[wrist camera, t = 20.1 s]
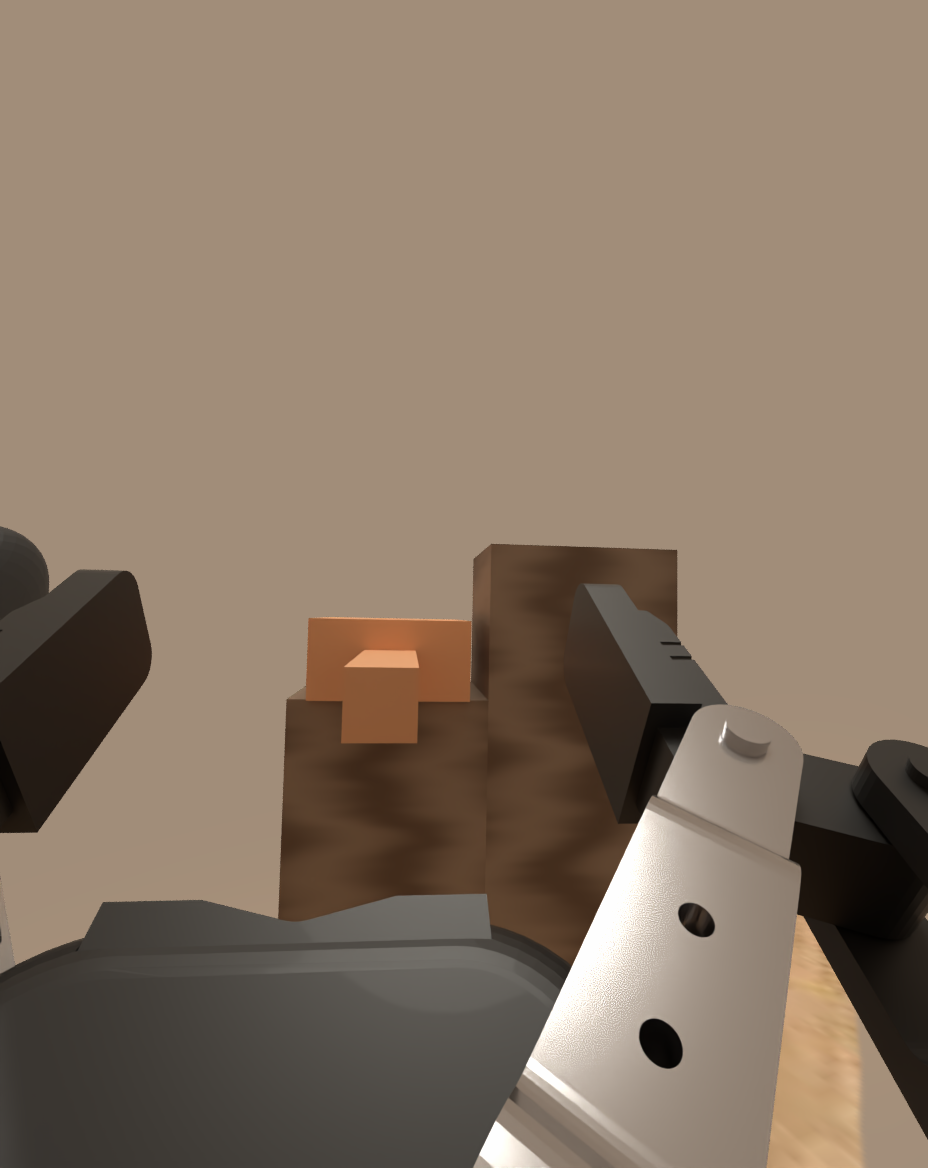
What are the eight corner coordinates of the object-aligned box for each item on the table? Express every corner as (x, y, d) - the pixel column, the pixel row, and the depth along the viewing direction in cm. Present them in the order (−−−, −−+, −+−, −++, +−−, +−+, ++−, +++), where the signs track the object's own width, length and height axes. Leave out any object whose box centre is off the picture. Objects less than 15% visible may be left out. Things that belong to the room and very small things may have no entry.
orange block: (255, 743, 18) (260, 620, 18) (328, 681, 35) (331, 617, 35) (498, 743, 19) (500, 624, 19) (456, 682, 36) (457, 619, 36)
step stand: (266, 1218, 26) (292, 537, 28) (300, 1077, 34) (318, 554, 36) (677, 1185, 28) (677, 550, 30) (618, 1059, 36) (620, 563, 38)
